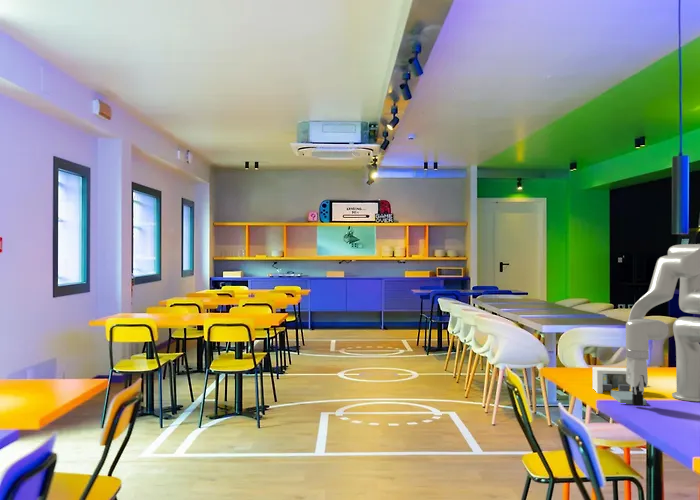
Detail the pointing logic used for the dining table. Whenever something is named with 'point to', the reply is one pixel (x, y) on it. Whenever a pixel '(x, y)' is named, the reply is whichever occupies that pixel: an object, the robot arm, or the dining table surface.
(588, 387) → the dining table surface
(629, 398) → the panel
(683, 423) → the dining table surface
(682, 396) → the robot arm
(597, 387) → the shelf
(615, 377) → the beverage carton
